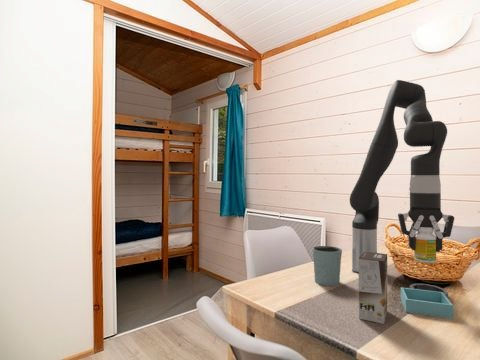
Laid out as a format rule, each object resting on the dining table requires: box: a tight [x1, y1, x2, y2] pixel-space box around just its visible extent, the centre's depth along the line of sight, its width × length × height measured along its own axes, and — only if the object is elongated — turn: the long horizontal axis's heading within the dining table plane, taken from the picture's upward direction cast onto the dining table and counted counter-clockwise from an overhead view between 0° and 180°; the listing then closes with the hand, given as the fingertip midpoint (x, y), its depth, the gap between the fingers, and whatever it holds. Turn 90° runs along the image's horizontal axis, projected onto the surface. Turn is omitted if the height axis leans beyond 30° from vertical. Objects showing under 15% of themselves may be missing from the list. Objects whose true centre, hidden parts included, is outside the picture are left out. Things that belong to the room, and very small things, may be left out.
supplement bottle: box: [413, 227, 437, 264], centre depth 85 cm, size 5×5×10 cm
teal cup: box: [312, 245, 343, 287], centre depth 107 cm, size 10×10×12 cm
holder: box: [408, 283, 449, 299], centre depth 94 cm, size 10×10×2 cm
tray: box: [400, 287, 454, 319], centre depth 85 cm, size 11×10×4 cm
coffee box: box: [358, 252, 388, 325], centre depth 81 cm, size 9×6×16 cm
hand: (425, 250), depth 85 cm, fingers closed on supplement bottle, 5 cm apart
